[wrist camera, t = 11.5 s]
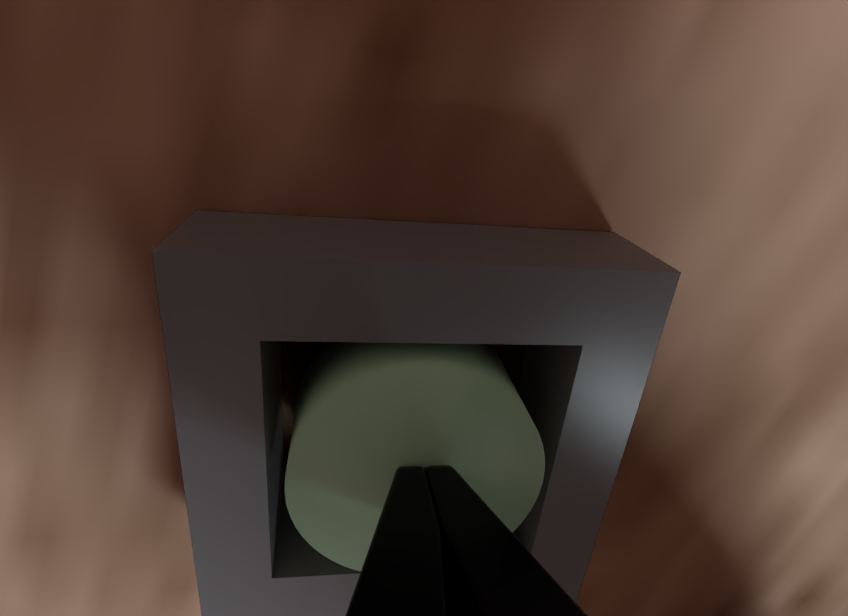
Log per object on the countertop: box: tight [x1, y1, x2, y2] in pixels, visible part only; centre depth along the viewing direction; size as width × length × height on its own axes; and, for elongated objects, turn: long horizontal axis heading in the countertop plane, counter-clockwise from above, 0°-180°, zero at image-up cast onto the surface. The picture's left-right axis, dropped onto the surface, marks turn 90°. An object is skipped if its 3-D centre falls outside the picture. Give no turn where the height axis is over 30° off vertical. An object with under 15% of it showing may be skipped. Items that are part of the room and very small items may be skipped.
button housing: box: [152, 210, 681, 616], centre depth 9 cm, size 7×7×2 cm
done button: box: [284, 342, 545, 572], centre depth 9 cm, size 4×4×2 cm
